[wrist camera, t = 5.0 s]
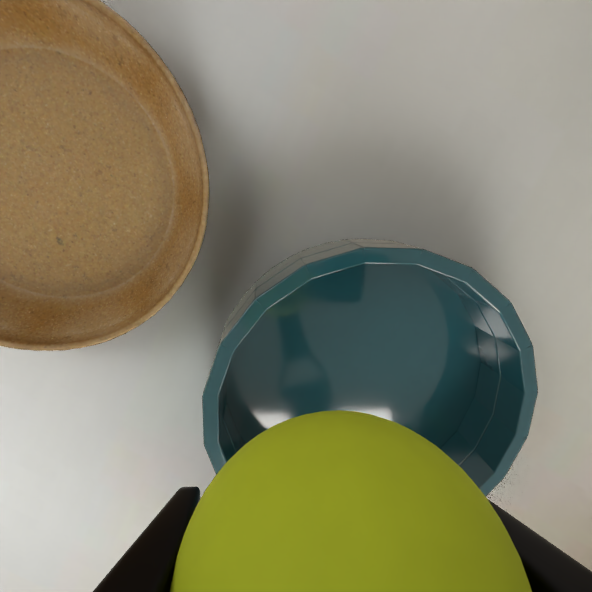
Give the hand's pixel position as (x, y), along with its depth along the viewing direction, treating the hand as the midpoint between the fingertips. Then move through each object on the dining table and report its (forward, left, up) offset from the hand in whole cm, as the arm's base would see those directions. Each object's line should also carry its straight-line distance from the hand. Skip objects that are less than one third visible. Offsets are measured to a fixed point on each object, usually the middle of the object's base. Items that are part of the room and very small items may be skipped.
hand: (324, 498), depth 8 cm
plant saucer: (+7, +11, -12) cm, 18 cm away
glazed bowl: (-3, -4, -12) cm, 13 cm away
